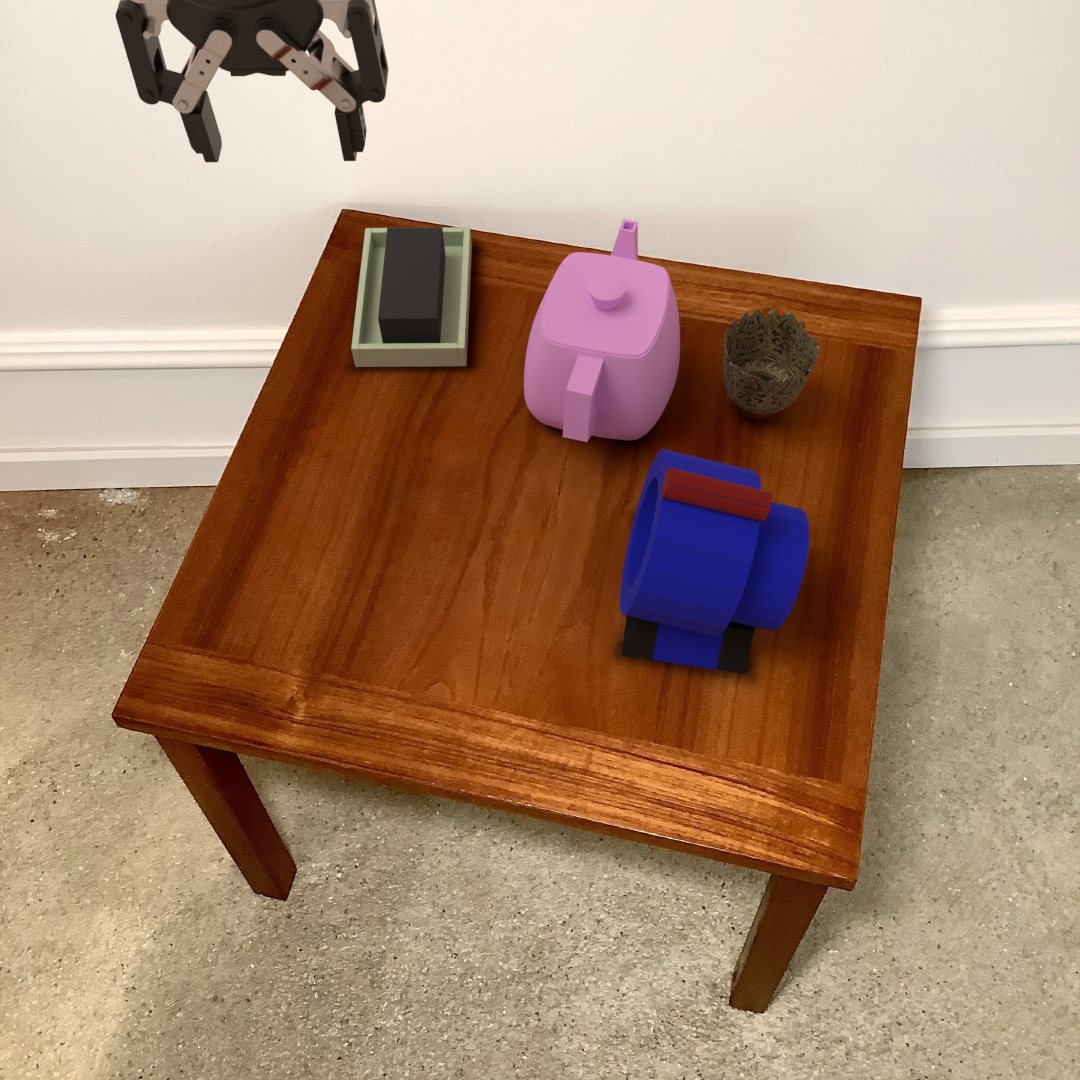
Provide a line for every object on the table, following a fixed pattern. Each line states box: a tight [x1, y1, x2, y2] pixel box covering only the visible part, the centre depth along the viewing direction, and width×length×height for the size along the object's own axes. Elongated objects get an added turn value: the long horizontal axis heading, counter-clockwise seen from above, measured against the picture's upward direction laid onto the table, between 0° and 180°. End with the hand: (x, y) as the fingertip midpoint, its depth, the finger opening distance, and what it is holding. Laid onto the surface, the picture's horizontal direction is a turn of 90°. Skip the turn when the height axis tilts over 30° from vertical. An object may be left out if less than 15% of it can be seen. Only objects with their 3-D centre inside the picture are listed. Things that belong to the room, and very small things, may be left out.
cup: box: [722, 308, 821, 421], centre depth 89 cm, size 8×7×8 cm
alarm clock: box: [619, 448, 810, 675], centre depth 76 cm, size 12×12×15 cm
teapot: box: [523, 218, 681, 443], centre depth 88 cm, size 20×12×13 cm, turn 166°
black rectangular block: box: [378, 227, 446, 344], centre depth 97 cm, size 11×5×4 cm, turn 0°
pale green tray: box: [350, 226, 473, 368], centre depth 98 cm, size 10×15×2 cm, turn 0°
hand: (282, 153), depth 68 cm, fingers open, 8 cm apart
